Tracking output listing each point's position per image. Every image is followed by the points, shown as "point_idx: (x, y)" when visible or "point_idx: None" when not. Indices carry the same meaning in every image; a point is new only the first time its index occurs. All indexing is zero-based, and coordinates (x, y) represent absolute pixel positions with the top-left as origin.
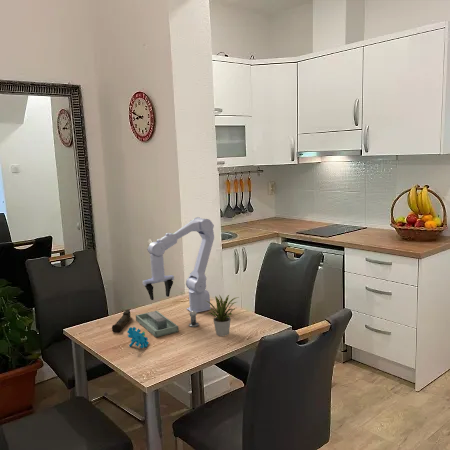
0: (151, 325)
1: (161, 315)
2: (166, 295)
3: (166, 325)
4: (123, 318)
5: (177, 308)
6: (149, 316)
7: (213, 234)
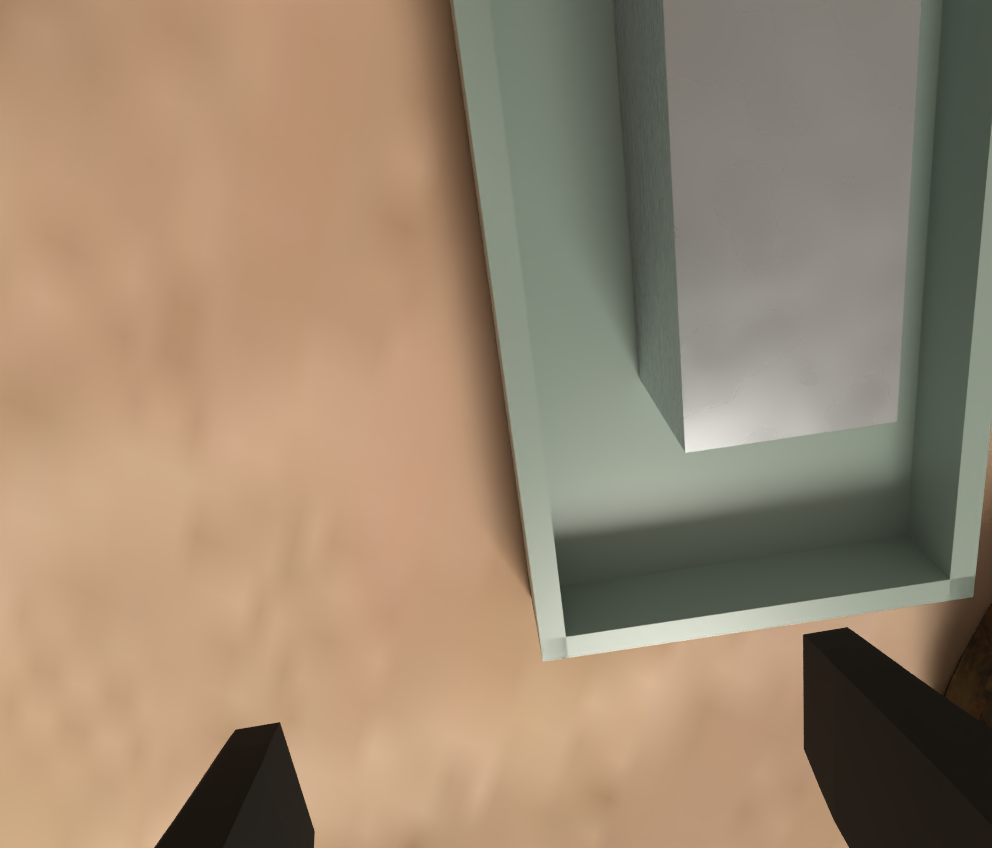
0: None
1: (532, 366)
2: (305, 824)
3: None
4: None
5: (116, 778)
6: (895, 214)
7: None
